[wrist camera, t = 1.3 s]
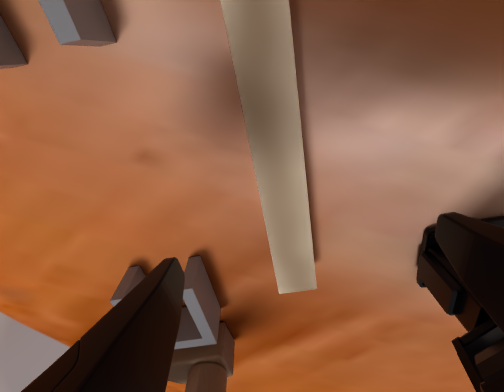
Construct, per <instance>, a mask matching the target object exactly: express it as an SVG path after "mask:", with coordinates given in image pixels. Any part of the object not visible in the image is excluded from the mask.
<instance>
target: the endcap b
mask: <svg viewBox="0 0 504 392" xmlns="http://www.w3.org/2000/svg"><path fill="white" fill-rule="evenodd" d="M184 275H185V283H184V293H183V299H184V301H185V303H186V305H187V307H182V312H181V320H180V325H179V330H178V335H177V339H176V344H175V349H181V348H189V347H197V346H204V345H212V344H217V339H218V330H219V321H220V312H221V308H220V305H219V303H218V300H217V298H216V295H215V293H214V290H213V287H212V285H211V282H210V280H209V277H208V275H207V272H206V270H205V267H204V264H203V262H202V259H201V257H200V256H196V257H190V258H189V259H188V262H187V266H186V269H185V272H184ZM145 277H146V276H145V275H144V273H143V271H142V269H141V267H140V266H134V267H129V268H128V270H127V271H126V273H125V275H124V277H123V279H122V280H121V282H120V284H119V286H118V287H117V289H116V291H115V293H114V294H113V296H112V298H111V300H110V302H111V303H112V305H113V306H115V305H116V304H117V303H118V302H119V301H120V300H121V299H123V298H124V297H125V296H126V295H127V294H128V293H129V292H130V291H131V290H132V289H133V288H134V287H135V286H136V285H137V284H138V283H139V282H141V281H142V280H143V279H144V278H145Z"/></svg>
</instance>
